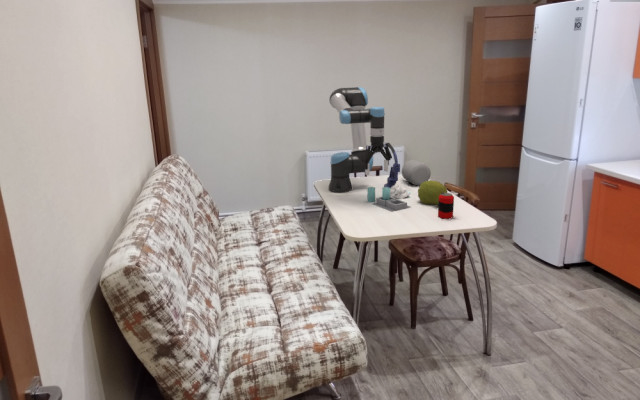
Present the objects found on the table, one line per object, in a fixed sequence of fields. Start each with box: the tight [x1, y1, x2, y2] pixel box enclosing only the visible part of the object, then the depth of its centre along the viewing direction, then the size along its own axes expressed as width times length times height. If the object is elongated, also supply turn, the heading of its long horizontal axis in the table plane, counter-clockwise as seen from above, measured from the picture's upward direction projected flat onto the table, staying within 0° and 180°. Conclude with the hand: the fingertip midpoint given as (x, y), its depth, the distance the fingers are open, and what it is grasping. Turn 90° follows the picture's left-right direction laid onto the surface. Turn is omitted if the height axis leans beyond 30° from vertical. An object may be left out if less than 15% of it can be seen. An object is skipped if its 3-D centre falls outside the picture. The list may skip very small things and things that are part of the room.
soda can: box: [437, 192, 455, 220], centre depth 241 cm, size 8×8×12 cm
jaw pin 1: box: [366, 186, 376, 204], centre depth 268 cm, size 4×4×9 cm
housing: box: [372, 196, 412, 213], centre depth 260 cm, size 18×14×4 cm
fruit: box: [417, 179, 448, 206], centre depth 262 cm, size 16×14×15 cm
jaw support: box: [390, 182, 411, 200], centre depth 276 cm, size 12×9×10 cm
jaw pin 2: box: [381, 186, 390, 201], centre depth 263 cm, size 4×4×9 cm
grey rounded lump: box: [401, 159, 432, 187], centre depth 310 cm, size 19×15×25 cm
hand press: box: [383, 142, 401, 188], centre depth 295 cm, size 19×9×28 cm, turn 10°
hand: (376, 173), depth 264 cm, fingers open, 13 cm apart
